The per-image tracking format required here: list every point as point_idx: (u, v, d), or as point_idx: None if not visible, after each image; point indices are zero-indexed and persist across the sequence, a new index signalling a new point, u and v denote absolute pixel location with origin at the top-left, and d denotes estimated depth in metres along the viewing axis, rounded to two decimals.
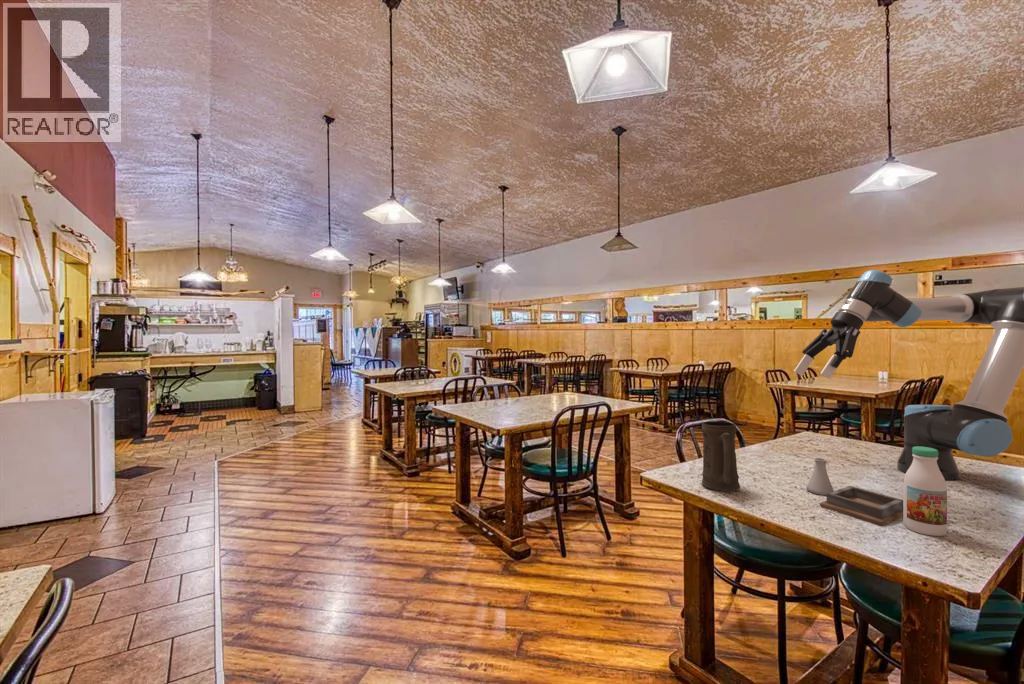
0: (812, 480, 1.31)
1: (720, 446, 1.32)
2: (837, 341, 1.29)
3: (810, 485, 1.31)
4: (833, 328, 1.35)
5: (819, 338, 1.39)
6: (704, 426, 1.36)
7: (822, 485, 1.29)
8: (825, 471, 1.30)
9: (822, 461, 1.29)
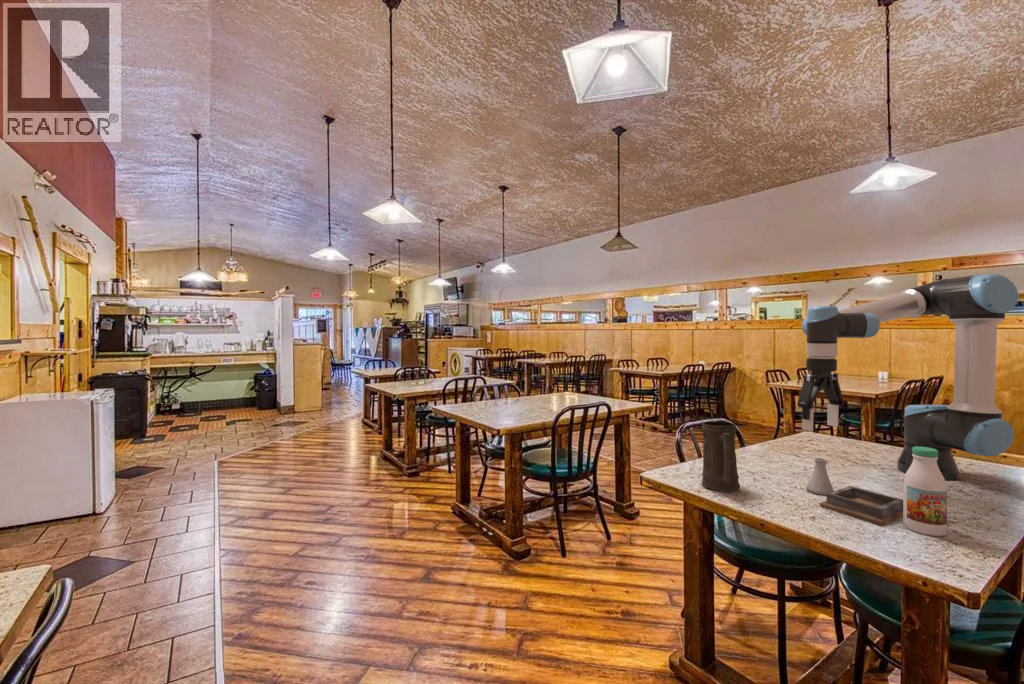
0: (812, 480, 1.31)
1: (720, 446, 1.32)
2: None
3: (810, 485, 1.31)
4: None
5: None
6: (704, 426, 1.36)
7: (822, 485, 1.29)
8: (825, 471, 1.30)
9: (822, 461, 1.29)
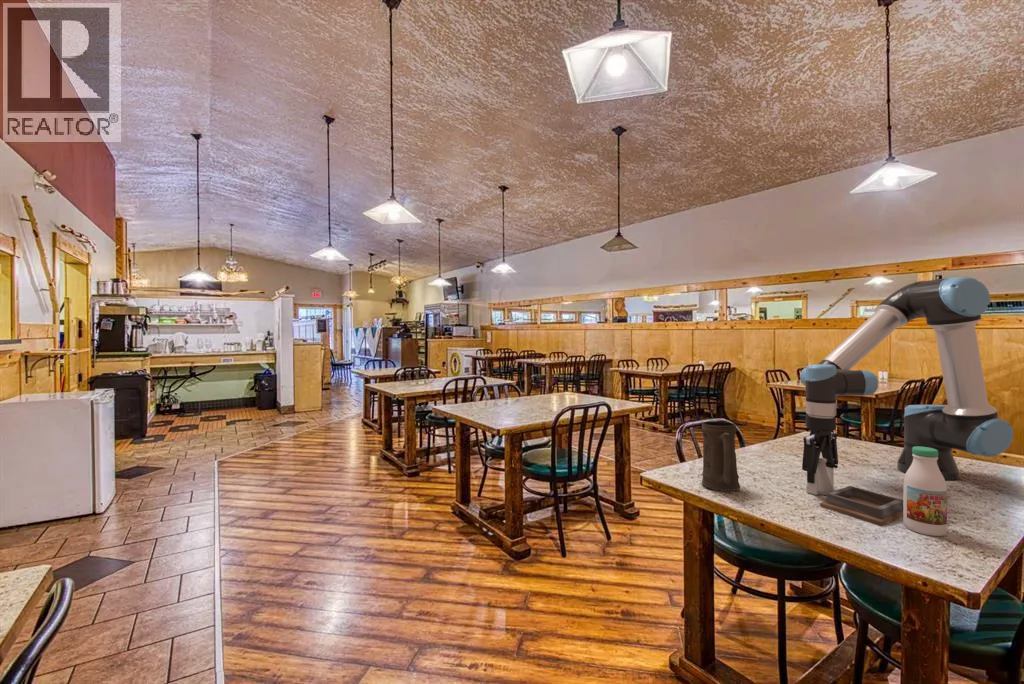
0: None
1: (720, 446, 1.32)
2: None
3: None
4: None
5: None
6: (704, 426, 1.36)
7: (822, 484, 1.29)
8: (825, 471, 1.30)
9: (822, 461, 1.29)
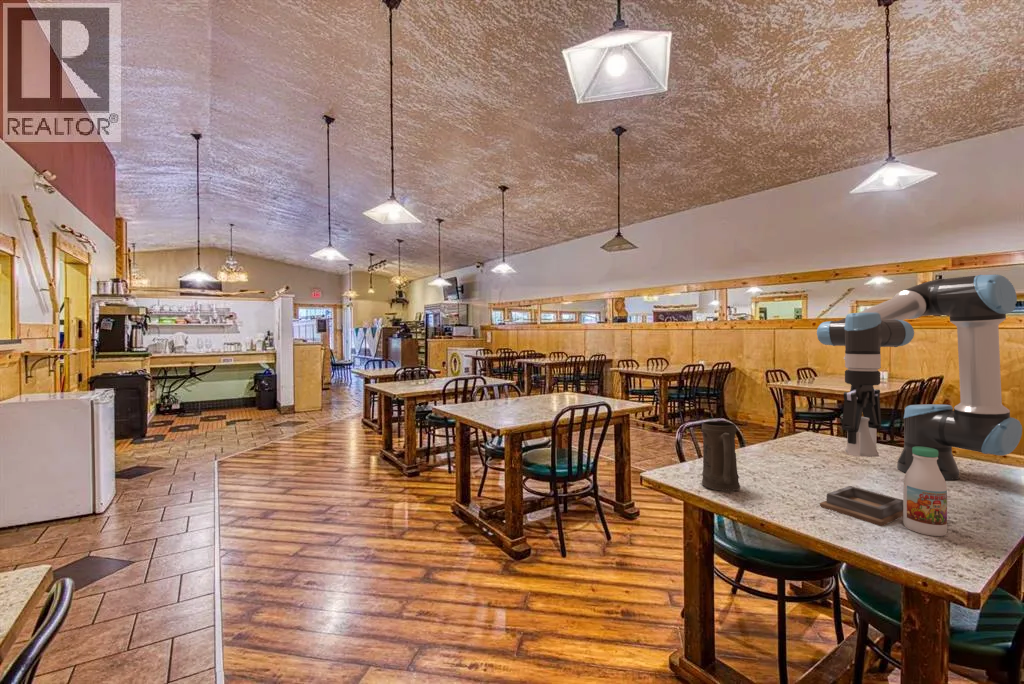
0: None
1: (720, 446, 1.32)
2: None
3: None
4: None
5: None
6: (704, 426, 1.36)
7: (864, 445, 1.16)
8: (867, 431, 1.16)
9: (864, 419, 1.16)
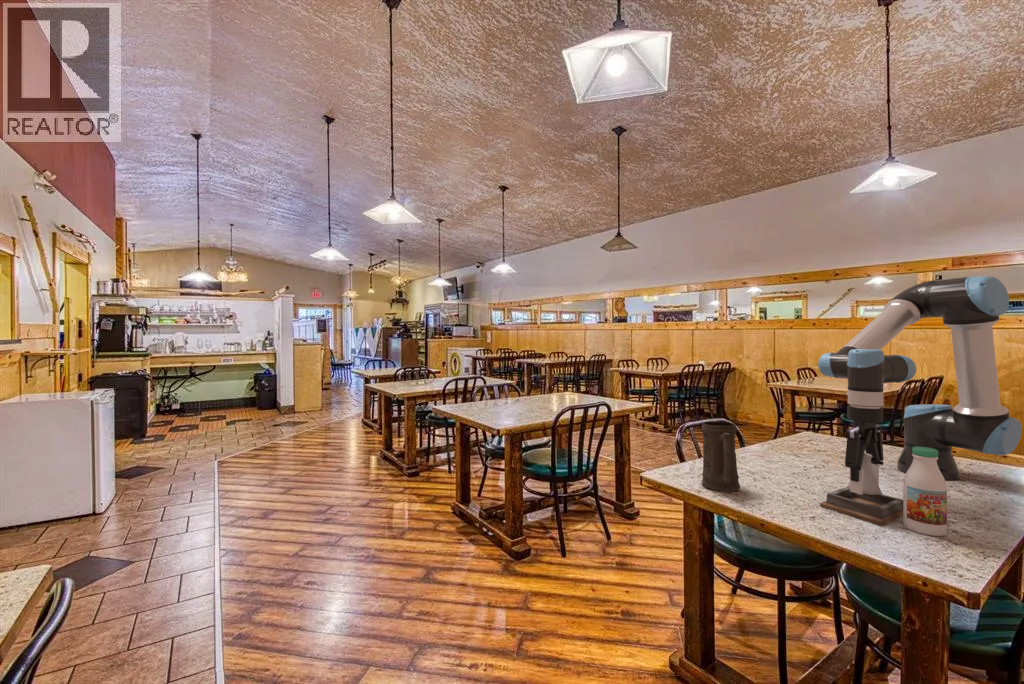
0: None
1: (720, 446, 1.32)
2: None
3: None
4: None
5: None
6: (704, 426, 1.36)
7: (867, 483, 1.15)
8: (870, 468, 1.16)
9: (867, 456, 1.16)
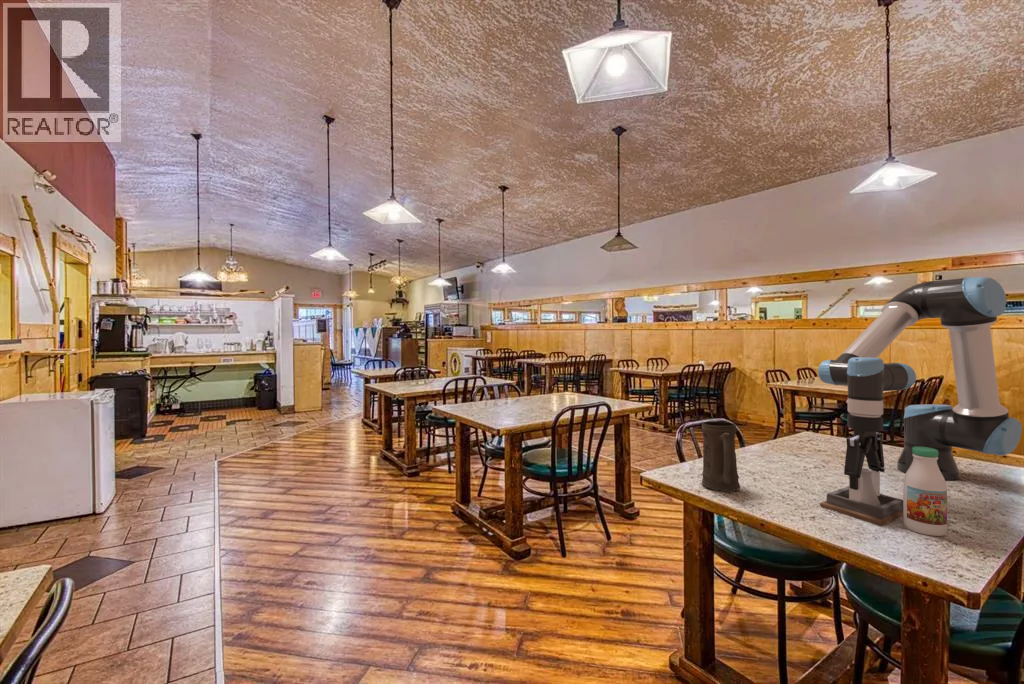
0: None
1: (720, 446, 1.32)
2: None
3: None
4: None
5: None
6: (704, 426, 1.36)
7: (868, 498, 1.15)
8: (871, 483, 1.16)
9: (867, 472, 1.16)
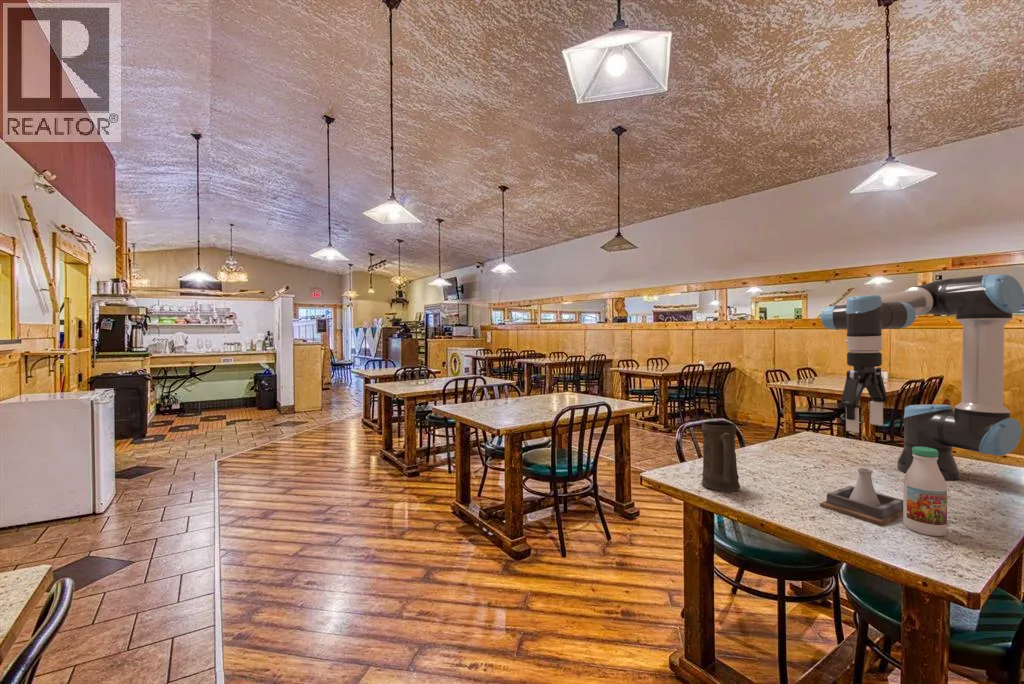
0: (856, 493, 1.18)
1: (720, 446, 1.32)
2: None
3: (853, 498, 1.18)
4: None
5: None
6: (704, 426, 1.36)
7: (868, 498, 1.15)
8: (871, 483, 1.16)
9: (867, 472, 1.16)
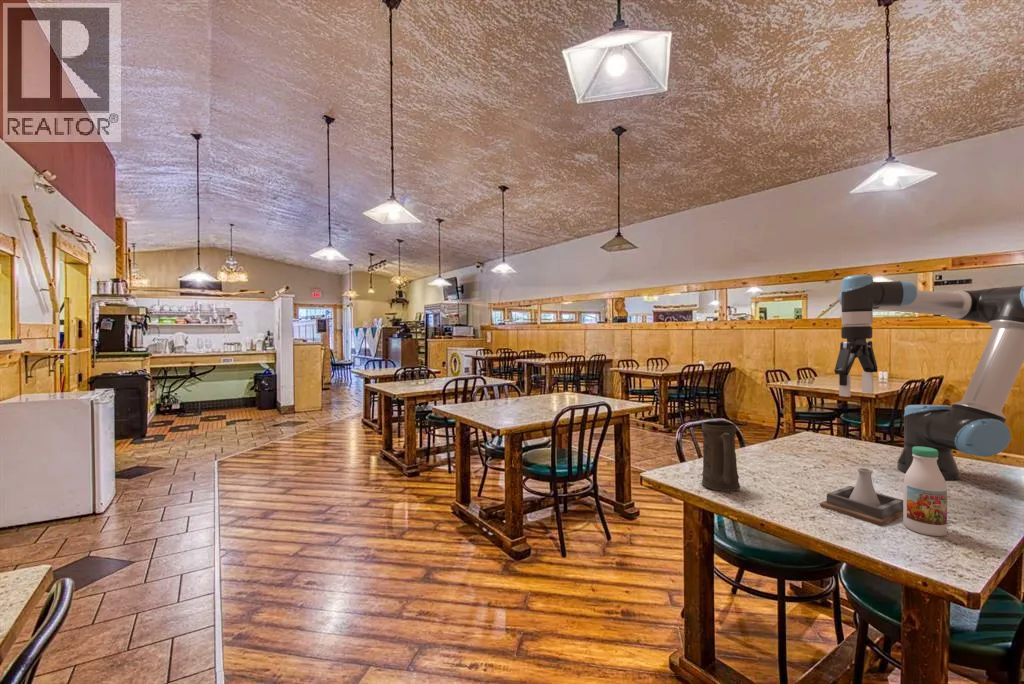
0: (856, 493, 1.18)
1: (720, 446, 1.32)
2: None
3: (853, 498, 1.18)
4: None
5: None
6: (704, 426, 1.36)
7: (868, 498, 1.15)
8: (871, 483, 1.16)
9: (867, 472, 1.16)
